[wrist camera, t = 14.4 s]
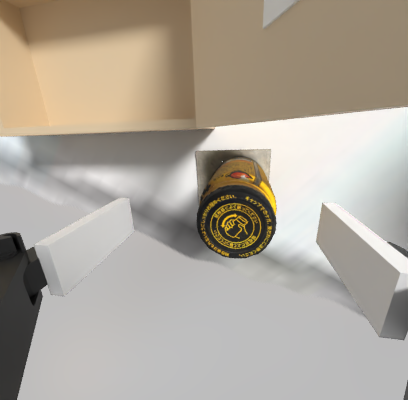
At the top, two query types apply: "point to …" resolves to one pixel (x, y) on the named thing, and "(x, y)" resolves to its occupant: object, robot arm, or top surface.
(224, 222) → the condiment
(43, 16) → the box
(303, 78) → the lid
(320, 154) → the top surface
